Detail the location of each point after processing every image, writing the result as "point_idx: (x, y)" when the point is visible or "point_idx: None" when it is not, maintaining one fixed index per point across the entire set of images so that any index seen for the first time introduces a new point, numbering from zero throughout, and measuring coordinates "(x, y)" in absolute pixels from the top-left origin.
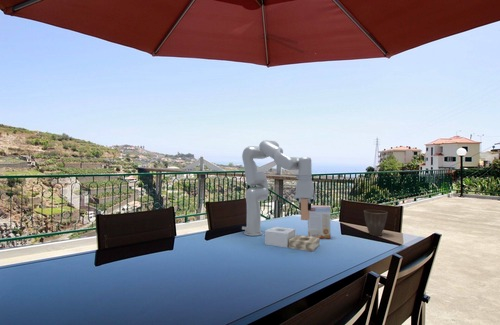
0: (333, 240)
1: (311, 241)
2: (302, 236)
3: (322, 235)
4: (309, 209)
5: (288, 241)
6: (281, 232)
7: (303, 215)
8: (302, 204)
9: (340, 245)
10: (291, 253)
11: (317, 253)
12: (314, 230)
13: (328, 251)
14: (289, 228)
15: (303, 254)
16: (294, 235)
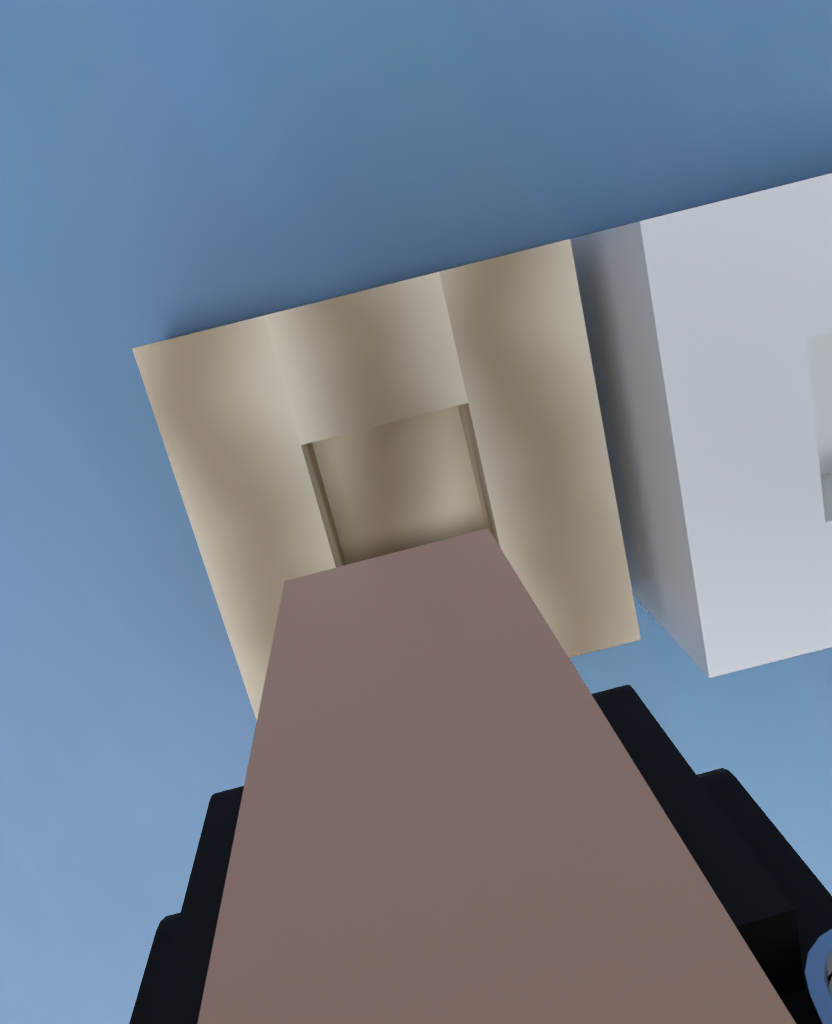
0: None
1: (221, 437)
2: None
3: None
4: None
5: (599, 296)
6: (790, 231)
7: (423, 599)
8: (563, 866)
9: (66, 859)
10: (348, 8)
11: (63, 302)
12: None
13: (12, 503)
14: (818, 637)
15: (182, 99)
16: (659, 594)
